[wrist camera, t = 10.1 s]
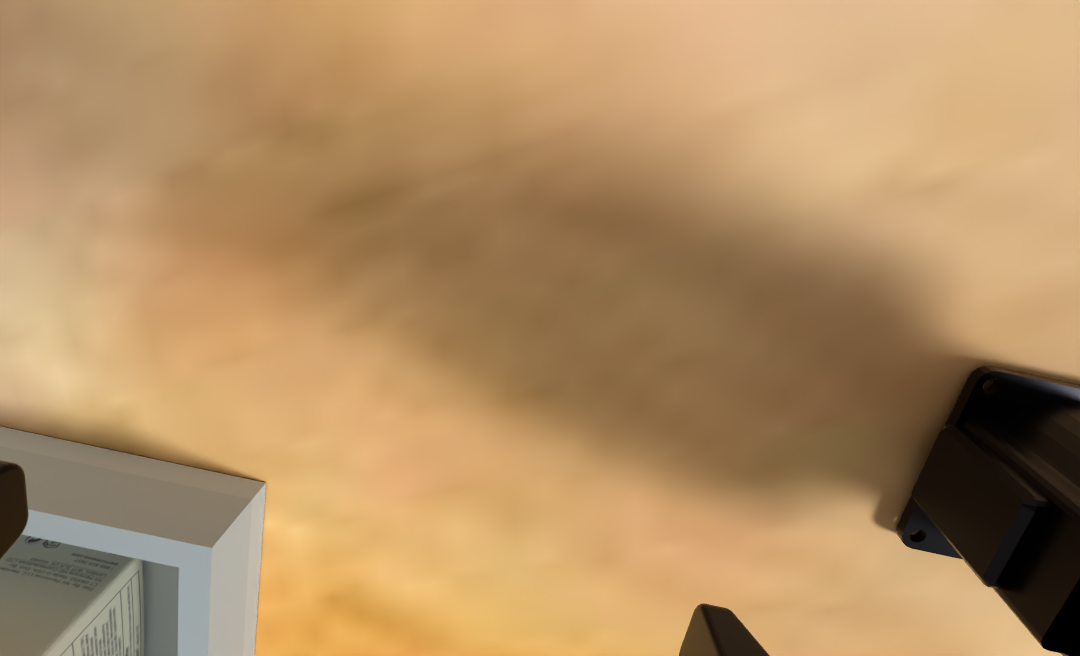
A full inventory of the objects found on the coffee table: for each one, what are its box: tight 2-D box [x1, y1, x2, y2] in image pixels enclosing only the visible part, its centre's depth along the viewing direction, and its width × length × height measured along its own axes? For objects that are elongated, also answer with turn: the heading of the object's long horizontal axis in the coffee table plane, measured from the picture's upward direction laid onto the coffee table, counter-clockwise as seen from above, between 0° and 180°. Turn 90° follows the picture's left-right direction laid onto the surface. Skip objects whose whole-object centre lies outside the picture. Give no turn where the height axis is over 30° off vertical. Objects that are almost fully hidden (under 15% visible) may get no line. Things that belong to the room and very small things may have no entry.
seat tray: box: [0, 426, 266, 656], centre depth 21 cm, size 12×12×7 cm
